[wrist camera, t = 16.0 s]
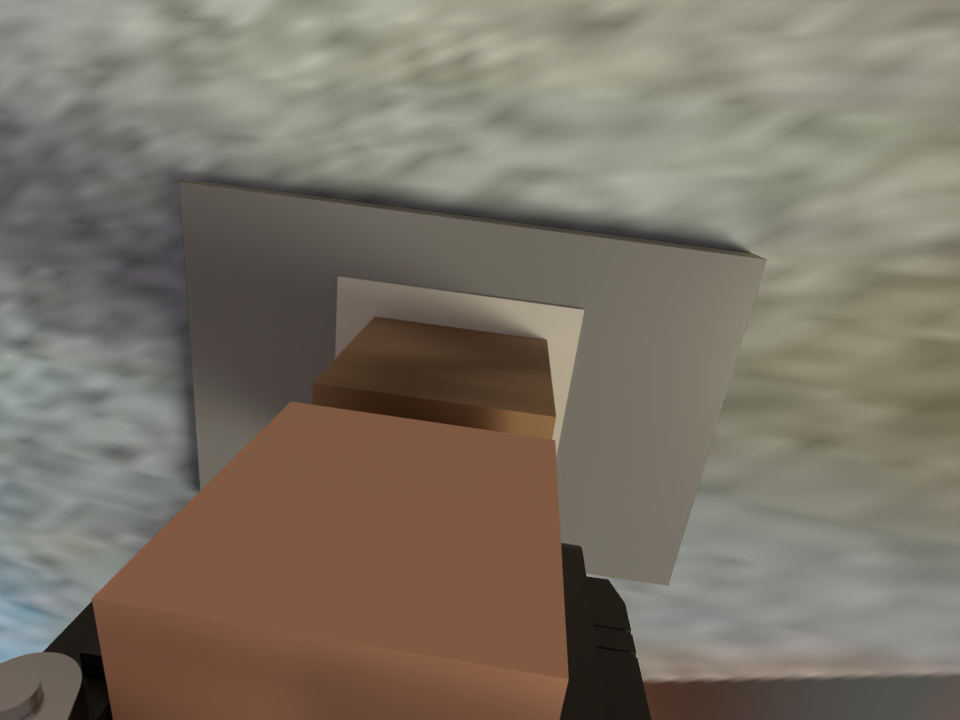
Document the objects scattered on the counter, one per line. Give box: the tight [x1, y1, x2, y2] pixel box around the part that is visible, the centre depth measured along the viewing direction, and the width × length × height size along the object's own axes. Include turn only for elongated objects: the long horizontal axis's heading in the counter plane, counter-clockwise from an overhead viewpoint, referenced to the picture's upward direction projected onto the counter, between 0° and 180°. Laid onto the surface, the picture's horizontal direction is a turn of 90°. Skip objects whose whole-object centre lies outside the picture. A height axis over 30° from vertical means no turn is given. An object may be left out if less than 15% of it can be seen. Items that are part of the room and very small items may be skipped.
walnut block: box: [312, 316, 556, 439], centre depth 15 cm, size 5×5×5 cm
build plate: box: [179, 181, 767, 585], centre depth 17 cm, size 16×11×1 cm
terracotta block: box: [92, 402, 569, 720], centre depth 9 cm, size 5×5×5 cm
